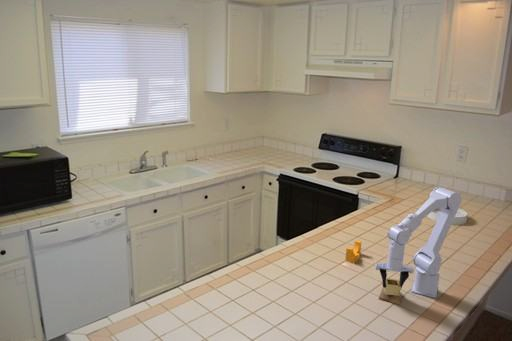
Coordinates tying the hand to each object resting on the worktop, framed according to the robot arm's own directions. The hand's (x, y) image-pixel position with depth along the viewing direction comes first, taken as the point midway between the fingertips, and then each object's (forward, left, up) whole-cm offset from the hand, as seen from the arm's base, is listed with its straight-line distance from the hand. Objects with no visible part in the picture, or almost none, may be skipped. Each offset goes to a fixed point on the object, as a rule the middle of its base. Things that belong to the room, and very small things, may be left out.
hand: (391, 287), depth 174 cm
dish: (-15, -112, -5) cm, 113 cm away
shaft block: (0, 0, -4) cm, 4 cm away
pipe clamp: (+22, -29, -5) cm, 36 cm away
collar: (0, 0, -2) cm, 2 cm away
